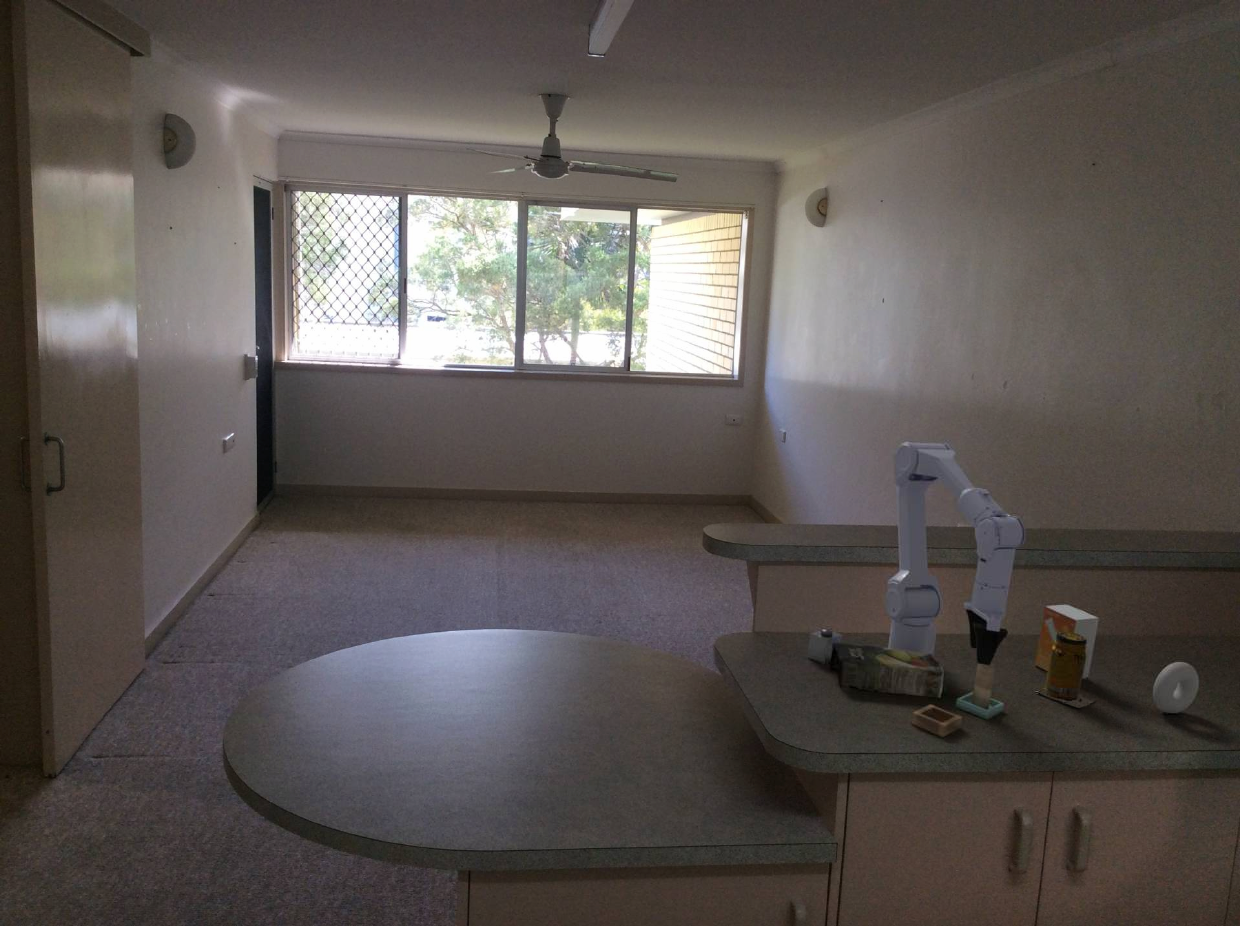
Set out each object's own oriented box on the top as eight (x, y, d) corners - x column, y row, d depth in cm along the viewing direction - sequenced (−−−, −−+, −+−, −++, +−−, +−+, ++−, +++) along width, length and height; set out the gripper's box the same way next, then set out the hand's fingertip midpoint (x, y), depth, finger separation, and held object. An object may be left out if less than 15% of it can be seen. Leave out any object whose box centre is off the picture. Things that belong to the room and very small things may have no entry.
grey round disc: (1160, 720, 182) (1171, 668, 180) (1144, 712, 185) (1154, 661, 183) (1197, 714, 186) (1207, 663, 184) (1180, 706, 189) (1190, 656, 187)
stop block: (822, 652, 201) (825, 624, 200) (838, 658, 198) (842, 631, 197) (807, 657, 198) (810, 629, 197) (824, 664, 195) (827, 635, 194)
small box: (1033, 666, 203) (1044, 605, 201) (1057, 663, 206) (1067, 603, 203) (1064, 682, 196) (1076, 619, 194) (1088, 679, 199) (1100, 617, 196)
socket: (929, 714, 176) (930, 704, 175) (960, 728, 171) (962, 717, 171) (911, 723, 171) (912, 712, 171) (942, 737, 167) (944, 725, 167)
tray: (971, 699, 184) (973, 691, 184) (1002, 711, 180) (1004, 703, 180) (955, 706, 180) (956, 699, 180) (986, 719, 176) (988, 711, 175)
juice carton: (933, 678, 193) (937, 648, 192) (947, 700, 183) (951, 669, 182) (828, 669, 194) (832, 639, 192) (837, 691, 184) (840, 659, 183)
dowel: (970, 700, 182) (977, 659, 180) (988, 704, 181) (995, 662, 179) (971, 707, 179) (978, 665, 177) (988, 710, 178) (996, 668, 176)
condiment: (1053, 685, 194) (1063, 627, 192) (1096, 702, 188) (1107, 642, 185) (1034, 693, 190) (1044, 633, 187) (1077, 710, 183) (1088, 648, 181)
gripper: (962, 568, 184) (951, 638, 186) (974, 592, 170) (962, 667, 172) (1002, 573, 182) (991, 643, 185) (1018, 598, 168) (1005, 673, 171)
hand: (980, 655), depth 179 cm, fingers open, 7 cm apart
